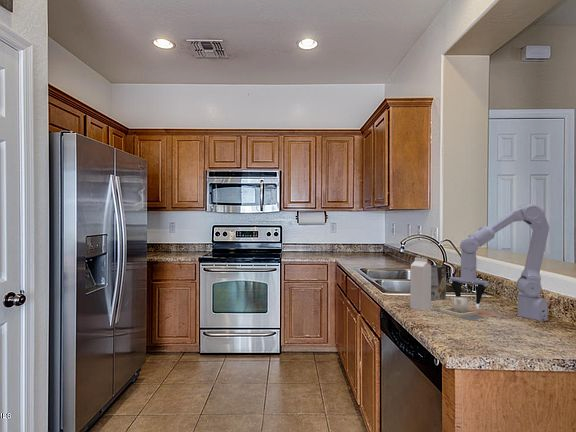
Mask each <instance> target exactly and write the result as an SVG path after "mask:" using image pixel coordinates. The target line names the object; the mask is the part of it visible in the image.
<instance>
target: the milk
mask: <svg viewBox="0 0 576 432" xmlns="http://www.w3.org/2000/svg"><path fill="white" fill-rule="evenodd" d="M409 285H410V295H409V296H410V298H409V299H410V303H409V305H410V309H414V310H416V311H417V310H418V311H422V312H423V311H428V310H432V301H431V264H430V263H429V262H428V258H425V257H414V261H413V262H412V263H411V264H410V284H409Z"/></svg>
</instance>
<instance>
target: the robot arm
mask: <svg viewBox="0 0 576 432" xmlns="http://www.w3.org/2000/svg"><path fill="white" fill-rule="evenodd" d="M515 222H524V223H526V224H527V225H528V226H529V227H530V229H531V230H532V233H531V237H530V241H529V246H528V251H527V255H526V260H525V265H524V268H523V270H522V271H521V274H520V277H518V279H517V280H516V288H517V289H518V290H519V291H518V293H517V316H519V317H521V318H525V319H526V318H527V319H532V320H536V323H541V322H547V321H550V319H549V317H548V314H549V309H548V308H549V302H548V300H547V299H546V298H544V297H541V296H540V294H541V293H542V288H543V286H542V284H541V281H542V277H541V274H540V272H541V269H542V264H543V258H544V253H545V251H546V246H547V240H548V236H549V232H550V225H549V222H548V220H547V217H546V213H545V211H544V210H543V209H542V208H541V207H540V206H539V205H538V204H533V203H530V204H523V205H521V206H519V207H518V208H517V207H516V208H515V209H513V210H511V211H510V212H508V213H506V214H505V215H503V216H502V217H501V218H499V219H498V220H497V221H495V222H494V223H493V224H492V225H490V226H485V225H484V226H479V227H478V230H477V231H475V232H473V233H472V234H469V235H467V236H468V237H467V238H464V239H462V240H461V241H460V244H459V248H460V250H461V252H460V254H461V256H460V277H458V276H449V282H450V285H451V287H452V290H453V292H454V295H455V297H462V296H461V295H462V294H461V293H462V292H461V291H462V285H463V284H466V285H475V286H474V288H475V304H477V305H479V304H481V300H482V296H483V294H484V292H485V290H487V289H486V288H487V287H489V280H483V279H478V278H477V251H478V249H479V247H480V248H481V247H482V246H484V245H486V244H487V243H488V242H490V241H492V240H493V239H495V235H496V233H498V232H499V231H501V230H502V229H504V228H506V227H507V226H509V225H511V224H512V223H515Z"/></svg>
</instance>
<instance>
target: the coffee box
mask: <svg viewBox="0 0 576 432" xmlns="http://www.w3.org/2000/svg"><path fill="white" fill-rule="evenodd" d="M430 265H431V264H430ZM446 299H447V265H440V264H439V265H438V264H432V265H431V302H434V301H441V300H446Z"/></svg>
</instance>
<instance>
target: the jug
mask: <svg viewBox="0 0 576 432" xmlns="http://www.w3.org/2000/svg"><path fill="white" fill-rule="evenodd" d="M453 307H454V312H456V313H460V314H461V313H467V307H468V296H463V295H462V296H461V297H456V296H454V297H453Z"/></svg>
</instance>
